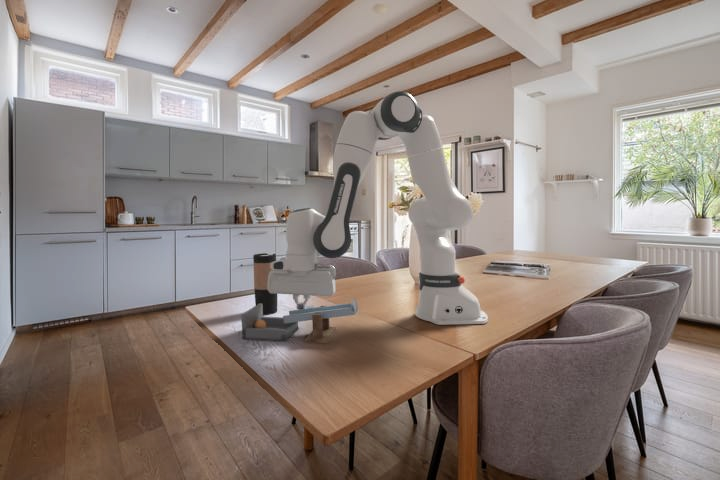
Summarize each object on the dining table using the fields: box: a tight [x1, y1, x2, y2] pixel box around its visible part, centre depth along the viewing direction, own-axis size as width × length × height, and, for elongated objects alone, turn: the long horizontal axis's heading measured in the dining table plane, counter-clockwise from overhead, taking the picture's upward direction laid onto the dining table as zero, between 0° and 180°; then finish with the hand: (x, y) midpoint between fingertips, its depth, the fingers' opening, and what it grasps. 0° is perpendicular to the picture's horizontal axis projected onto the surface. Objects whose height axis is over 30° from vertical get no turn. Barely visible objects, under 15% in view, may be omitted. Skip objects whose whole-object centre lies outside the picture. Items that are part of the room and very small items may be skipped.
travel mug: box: [252, 252, 278, 316], centre depth 119 cm, size 8×8×20 cm
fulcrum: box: [305, 305, 337, 344], centre depth 96 cm, size 6×10×7 cm, turn 171°
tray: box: [240, 304, 299, 342], centre depth 99 cm, size 12×11×7 cm
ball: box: [254, 320, 266, 328], centre depth 99 cm, size 3×3×3 cm
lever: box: [282, 299, 359, 323], centre depth 100 cm, size 20×12×3 cm, turn 80°
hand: (301, 309), depth 104 cm, fingers closed
